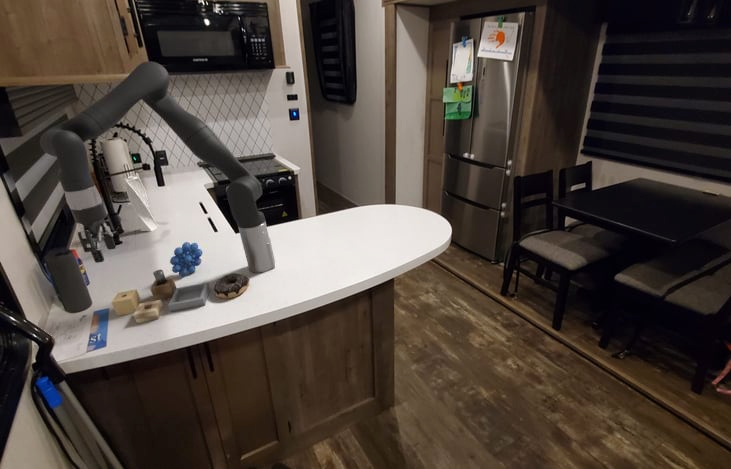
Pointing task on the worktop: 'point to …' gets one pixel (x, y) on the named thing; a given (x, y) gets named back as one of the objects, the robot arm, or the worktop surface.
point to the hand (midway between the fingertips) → (106, 255)
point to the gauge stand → (148, 311)
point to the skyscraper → (140, 202)
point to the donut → (231, 285)
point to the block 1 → (126, 302)
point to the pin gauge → (160, 277)
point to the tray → (189, 297)
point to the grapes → (186, 258)
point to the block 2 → (163, 289)
